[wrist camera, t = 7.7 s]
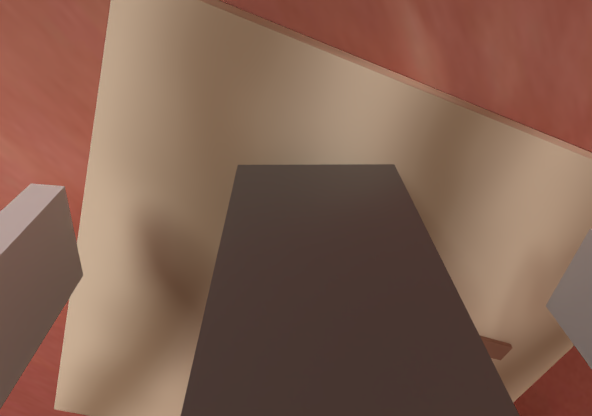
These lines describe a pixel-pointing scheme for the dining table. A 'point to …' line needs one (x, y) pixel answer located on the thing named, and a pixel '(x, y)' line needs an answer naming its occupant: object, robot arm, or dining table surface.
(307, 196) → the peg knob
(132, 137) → the board
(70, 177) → the dining table surface
